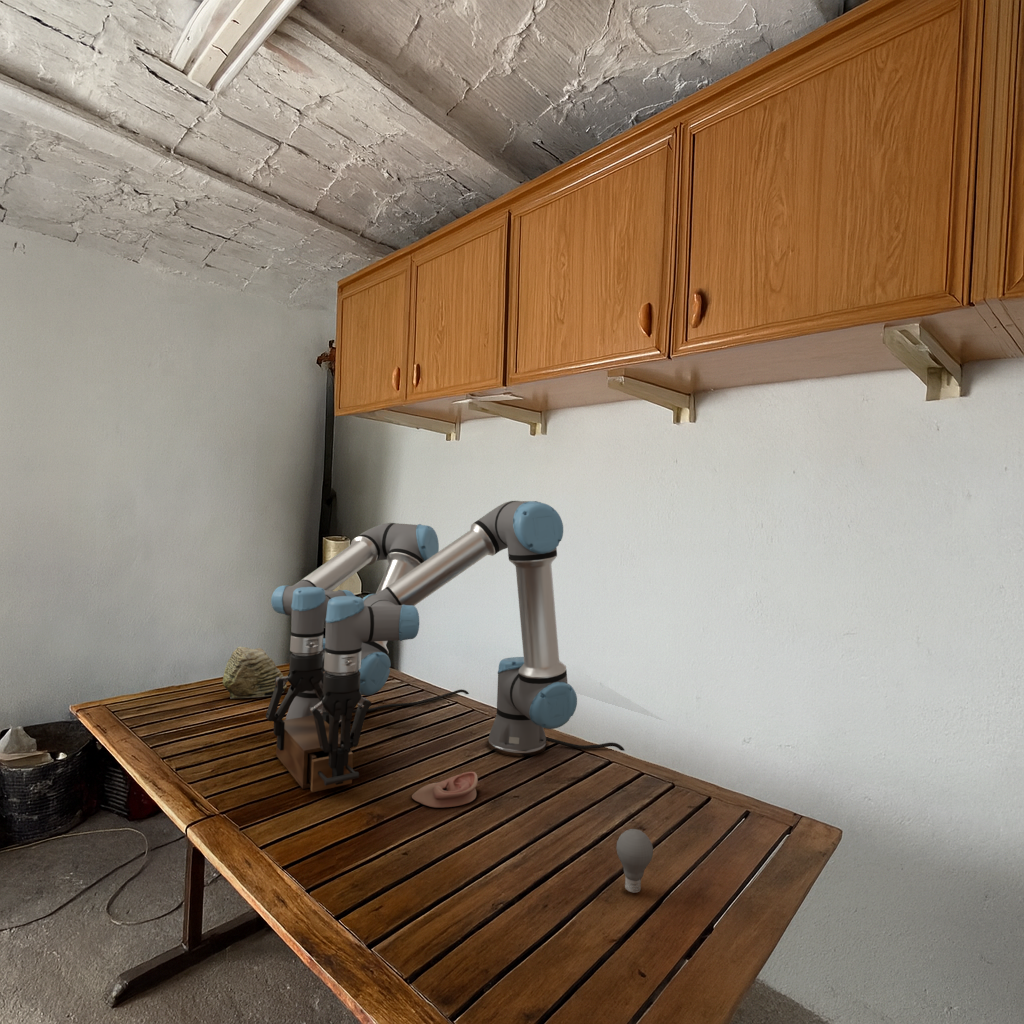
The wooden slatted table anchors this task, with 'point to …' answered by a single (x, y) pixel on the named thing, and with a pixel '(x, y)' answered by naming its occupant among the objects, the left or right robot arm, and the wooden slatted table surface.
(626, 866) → the light bulb
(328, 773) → the drawer
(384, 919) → the wooden slatted table surface
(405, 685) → the wooden slatted table surface
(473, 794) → the anatomical model
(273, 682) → the fossil
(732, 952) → the wooden slatted table surface
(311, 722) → the cabinet
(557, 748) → the wooden slatted table surface
